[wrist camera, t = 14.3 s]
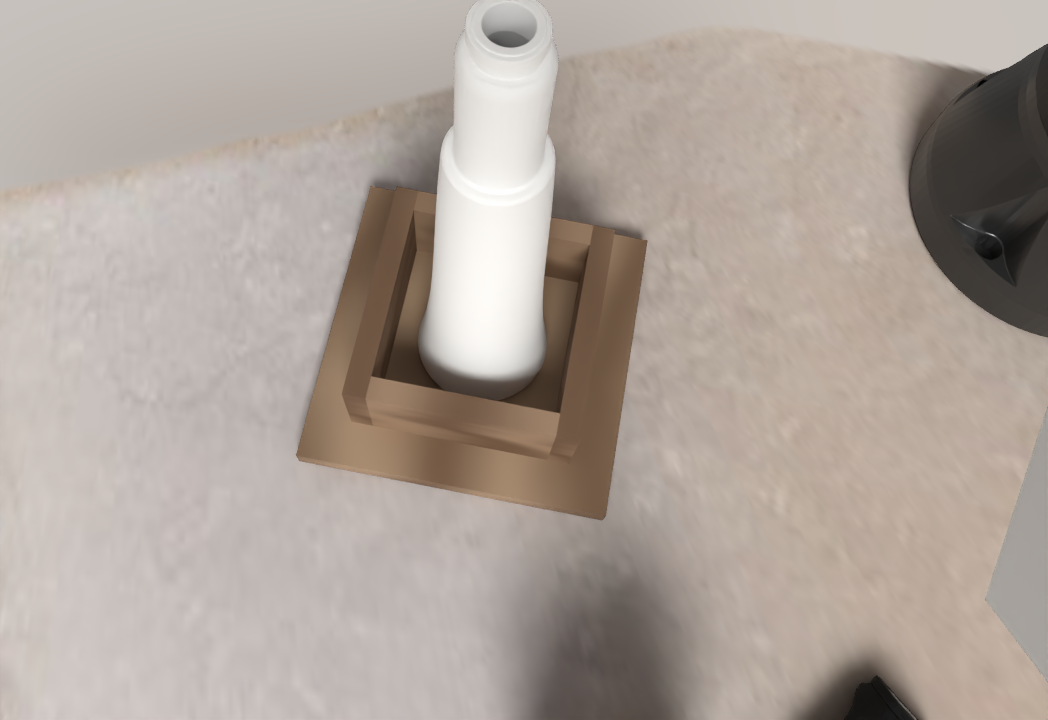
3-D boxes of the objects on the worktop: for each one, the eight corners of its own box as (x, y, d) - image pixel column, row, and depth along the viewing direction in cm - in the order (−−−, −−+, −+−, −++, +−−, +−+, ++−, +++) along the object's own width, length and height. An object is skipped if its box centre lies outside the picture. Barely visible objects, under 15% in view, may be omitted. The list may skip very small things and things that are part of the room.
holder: (643, 249, 47) (664, 199, 43) (602, 520, 43) (620, 497, 38) (372, 196, 47) (363, 140, 43) (299, 460, 43) (280, 430, 38)
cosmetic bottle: (460, 426, 43) (468, 167, 22) (394, 321, 44) (343, -15, 24) (571, 363, 44) (675, 63, 23) (503, 262, 46) (546, -102, 25)
